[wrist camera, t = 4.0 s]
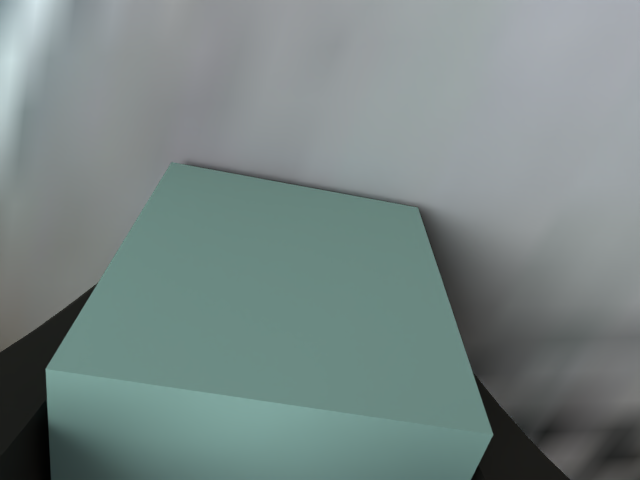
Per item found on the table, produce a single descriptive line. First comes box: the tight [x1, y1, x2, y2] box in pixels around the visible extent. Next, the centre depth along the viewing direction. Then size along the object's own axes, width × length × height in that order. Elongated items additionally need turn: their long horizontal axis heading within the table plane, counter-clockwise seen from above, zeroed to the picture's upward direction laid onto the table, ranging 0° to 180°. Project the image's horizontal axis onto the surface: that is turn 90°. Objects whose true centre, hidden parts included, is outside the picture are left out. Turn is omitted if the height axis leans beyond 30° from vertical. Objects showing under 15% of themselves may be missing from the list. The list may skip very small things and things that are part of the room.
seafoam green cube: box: [46, 162, 493, 480], centre depth 10 cm, size 5×5×6 cm
